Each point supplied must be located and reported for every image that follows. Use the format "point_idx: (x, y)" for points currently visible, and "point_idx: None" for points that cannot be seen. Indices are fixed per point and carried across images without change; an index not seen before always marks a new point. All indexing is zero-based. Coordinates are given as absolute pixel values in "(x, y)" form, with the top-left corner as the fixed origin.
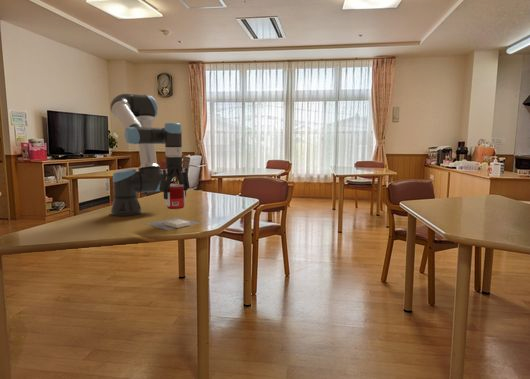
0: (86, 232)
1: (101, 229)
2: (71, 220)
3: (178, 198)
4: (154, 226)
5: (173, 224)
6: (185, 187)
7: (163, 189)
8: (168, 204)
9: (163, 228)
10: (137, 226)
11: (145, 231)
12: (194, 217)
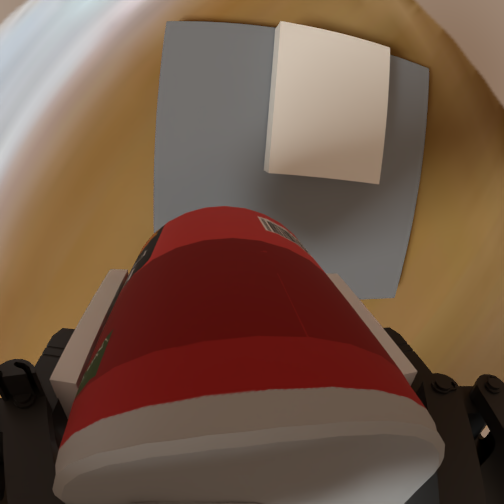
0: (496, 345)
1: (465, 355)
2: None
3: (272, 246)
4: (415, 204)
5: (386, 83)
6: (17, 419)
7: (499, 391)
8: (344, 286)
9: (421, 121)
10: (398, 317)
11: (450, 200)
12: (42, 269)
